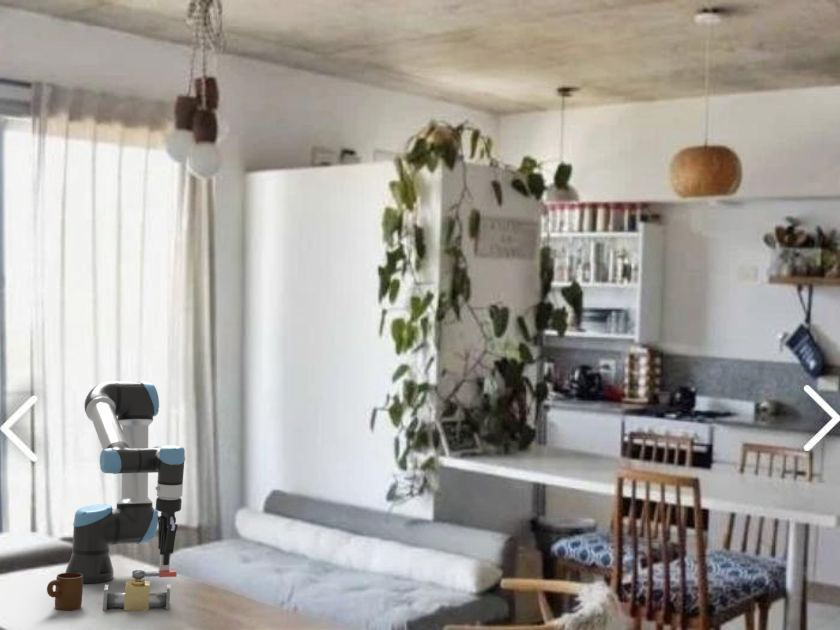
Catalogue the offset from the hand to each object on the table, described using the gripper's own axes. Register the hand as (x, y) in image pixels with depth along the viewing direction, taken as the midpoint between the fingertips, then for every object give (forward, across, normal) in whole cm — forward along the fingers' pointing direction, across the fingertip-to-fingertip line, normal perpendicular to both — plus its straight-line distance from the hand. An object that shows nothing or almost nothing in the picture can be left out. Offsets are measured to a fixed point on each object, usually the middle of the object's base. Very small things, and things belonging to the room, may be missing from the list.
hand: (163, 574), depth 315 cm
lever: (0, +1, -3) cm, 4 cm away
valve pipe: (+9, +1, -8) cm, 12 cm away
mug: (+9, -4, -28) cm, 30 cm away
